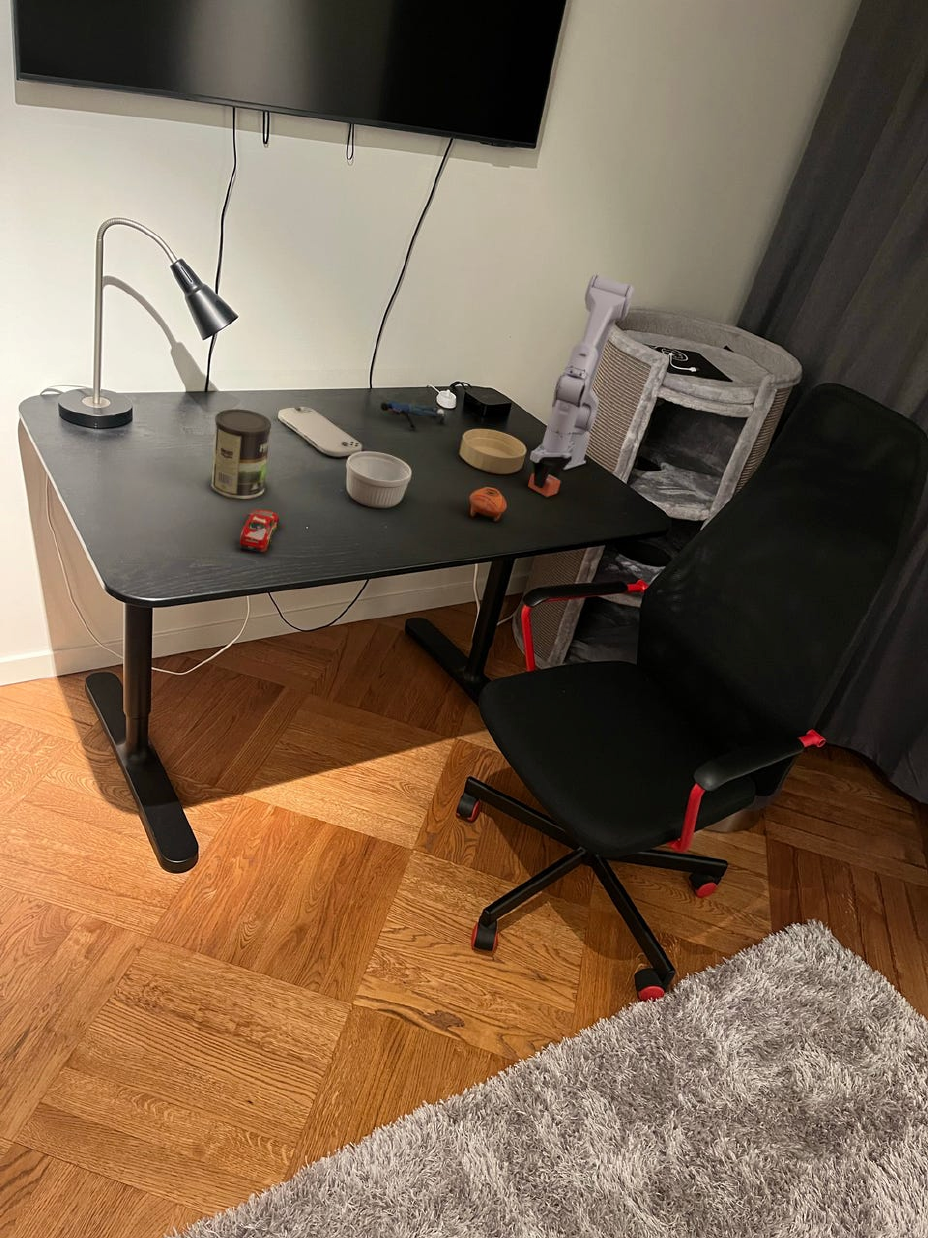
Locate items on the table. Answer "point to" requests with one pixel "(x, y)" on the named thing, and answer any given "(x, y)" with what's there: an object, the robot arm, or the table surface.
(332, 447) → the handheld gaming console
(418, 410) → the person figurine
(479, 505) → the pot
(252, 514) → the race car
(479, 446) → the bowl
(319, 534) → the table surface
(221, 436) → the coffee can
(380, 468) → the ramekin
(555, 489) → the orange-red block
